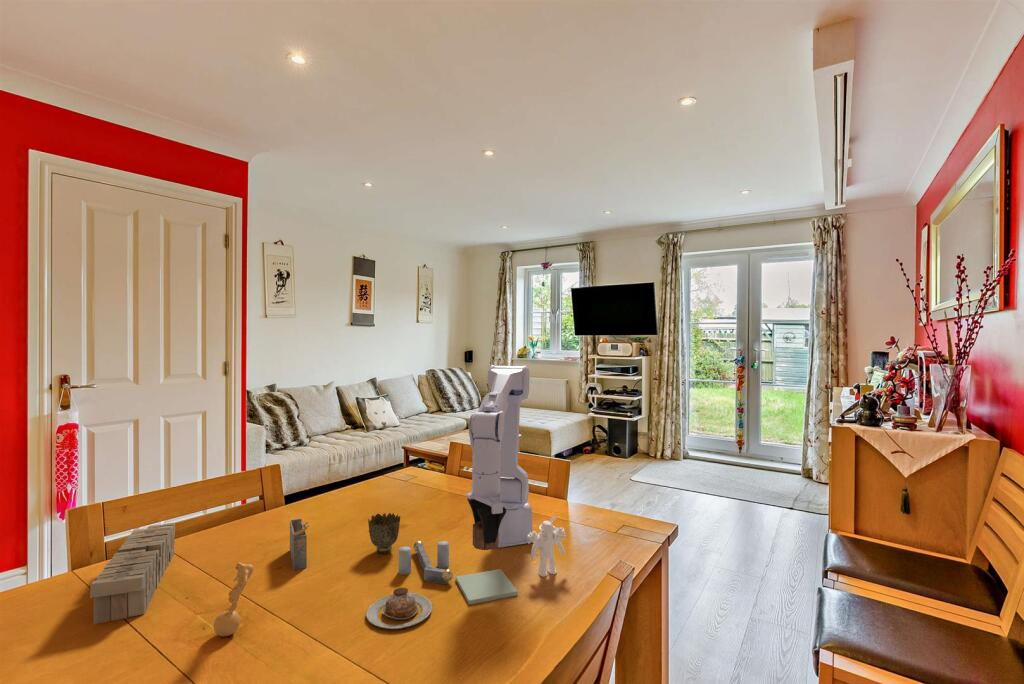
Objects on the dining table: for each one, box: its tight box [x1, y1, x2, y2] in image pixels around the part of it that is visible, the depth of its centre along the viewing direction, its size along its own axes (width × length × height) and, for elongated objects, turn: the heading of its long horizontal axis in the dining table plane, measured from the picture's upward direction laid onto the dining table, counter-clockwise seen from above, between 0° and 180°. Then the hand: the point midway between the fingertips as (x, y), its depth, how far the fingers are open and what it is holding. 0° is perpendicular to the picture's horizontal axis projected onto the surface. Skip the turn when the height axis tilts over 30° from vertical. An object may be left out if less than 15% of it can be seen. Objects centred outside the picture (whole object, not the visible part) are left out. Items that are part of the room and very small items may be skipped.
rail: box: [413, 540, 454, 586], centre depth 110 cm, size 6×19×3 cm, turn 21°
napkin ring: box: [472, 521, 499, 551], centre depth 101 cm, size 5×5×4 cm
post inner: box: [436, 540, 450, 569], centre depth 111 cm, size 3×3×5 cm
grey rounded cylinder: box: [398, 546, 412, 576], centre depth 108 cm, size 3×3×5 cm
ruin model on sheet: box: [289, 518, 309, 571], centre depth 114 cm, size 11×3×10 cm, turn 28°
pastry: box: [365, 587, 433, 630], centre depth 92 cm, size 12×12×5 cm
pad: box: [455, 568, 518, 605], centre depth 101 cm, size 10×10×1 cm
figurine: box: [213, 562, 254, 637], centre depth 85 cm, size 8×6×12 cm
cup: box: [367, 512, 401, 555], centre depth 118 cm, size 8×7×8 cm
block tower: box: [89, 522, 176, 625], centre depth 101 cm, size 8×8×29 cm
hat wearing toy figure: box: [527, 514, 567, 578], centre depth 108 cm, size 9×4×12 cm, turn 112°
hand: (485, 537), depth 101 cm, fingers closed on napkin ring, 5 cm apart
